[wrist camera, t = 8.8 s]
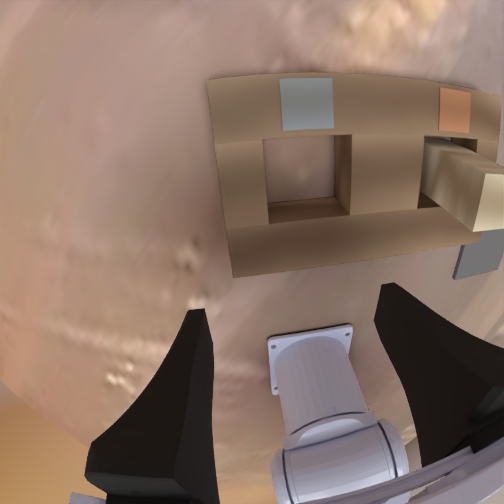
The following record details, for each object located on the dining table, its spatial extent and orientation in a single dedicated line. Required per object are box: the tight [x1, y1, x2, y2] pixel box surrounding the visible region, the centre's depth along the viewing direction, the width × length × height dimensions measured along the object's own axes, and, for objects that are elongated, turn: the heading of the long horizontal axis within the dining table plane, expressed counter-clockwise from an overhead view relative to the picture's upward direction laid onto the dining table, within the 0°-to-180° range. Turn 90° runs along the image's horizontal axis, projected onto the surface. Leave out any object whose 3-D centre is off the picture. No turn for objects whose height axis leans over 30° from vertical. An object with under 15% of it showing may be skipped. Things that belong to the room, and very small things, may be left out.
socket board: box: [206, 72, 502, 278], centre depth 18 cm, size 12×20×3 cm, turn 95°
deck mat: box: [453, 229, 504, 280], centre depth 25 cm, size 7×7×1 cm
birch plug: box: [419, 137, 504, 232], centre depth 17 cm, size 3×3×8 cm
